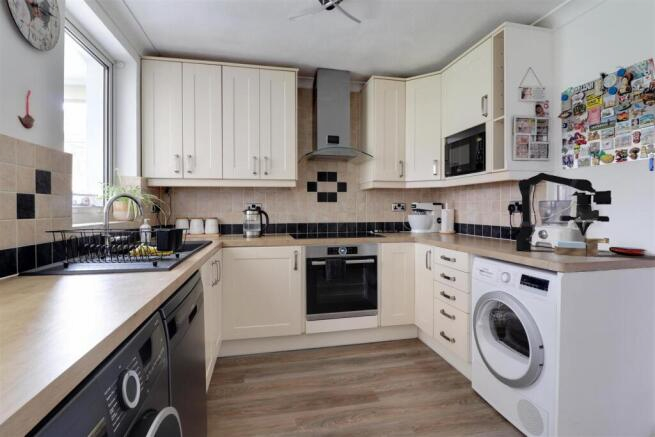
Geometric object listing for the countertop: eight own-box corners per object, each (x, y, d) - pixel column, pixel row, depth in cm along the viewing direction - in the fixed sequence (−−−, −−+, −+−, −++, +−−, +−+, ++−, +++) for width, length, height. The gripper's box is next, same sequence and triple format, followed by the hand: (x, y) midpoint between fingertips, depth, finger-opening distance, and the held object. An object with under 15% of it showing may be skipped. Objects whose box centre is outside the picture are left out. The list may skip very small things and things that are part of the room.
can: (589, 251, 169) (589, 229, 169) (573, 251, 171) (573, 229, 170) (580, 250, 176) (581, 228, 176) (565, 249, 178) (566, 228, 178)
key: (588, 242, 154) (588, 237, 154) (586, 242, 157) (587, 237, 157) (609, 243, 151) (609, 238, 150) (606, 242, 153) (606, 237, 153)
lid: (558, 247, 158) (558, 242, 158) (555, 245, 165) (555, 240, 165) (585, 248, 153) (585, 243, 153) (581, 246, 160) (581, 241, 160)
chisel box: (556, 254, 159) (556, 238, 159) (554, 253, 164) (554, 237, 164) (597, 256, 152) (597, 239, 151) (593, 255, 157) (594, 238, 157)
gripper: (564, 204, 153) (563, 236, 154) (613, 204, 144) (612, 238, 145) (559, 204, 163) (558, 234, 163) (605, 204, 154) (604, 236, 155)
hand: (582, 235), depth 156 cm, fingers closed
